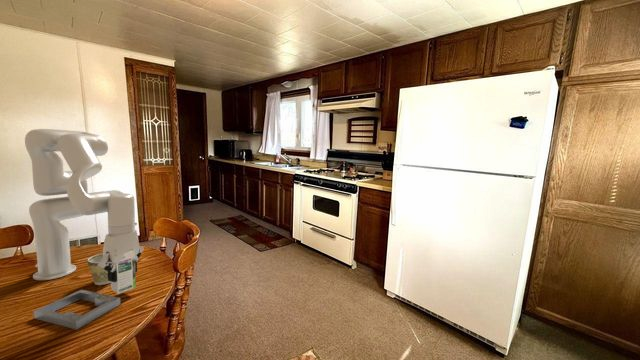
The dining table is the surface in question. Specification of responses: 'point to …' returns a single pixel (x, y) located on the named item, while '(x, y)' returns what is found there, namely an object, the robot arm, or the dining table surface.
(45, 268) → the robot arm
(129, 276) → the syrup box
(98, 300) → the grey rectangular frame
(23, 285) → the dining table surface
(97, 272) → the ceramic cup
